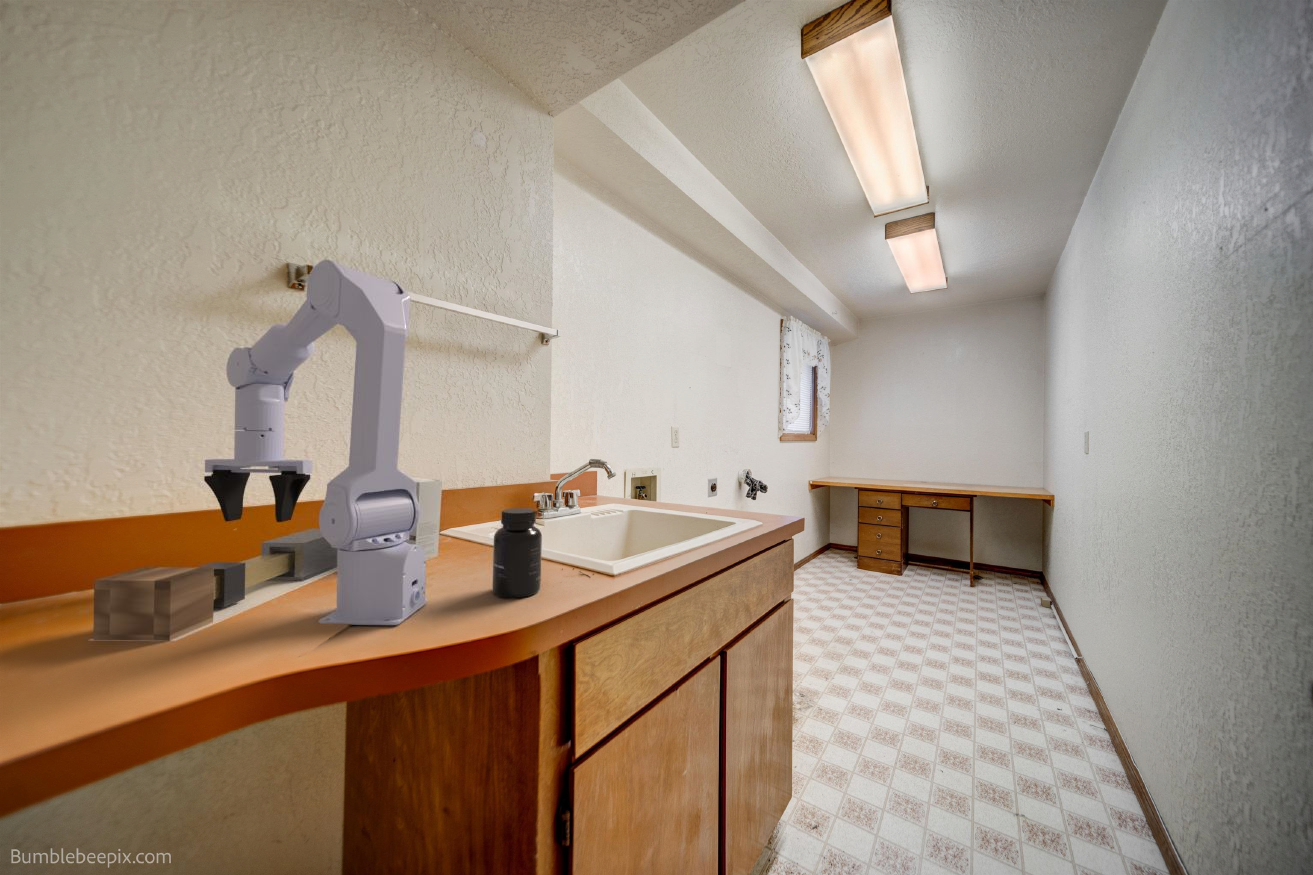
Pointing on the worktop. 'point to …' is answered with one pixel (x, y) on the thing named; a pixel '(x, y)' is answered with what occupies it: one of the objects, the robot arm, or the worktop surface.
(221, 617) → the board
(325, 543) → the sleeve
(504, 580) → the supplement bottle
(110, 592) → the socket
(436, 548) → the skincare box
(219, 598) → the plug
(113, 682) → the worktop surface
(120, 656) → the worktop surface
